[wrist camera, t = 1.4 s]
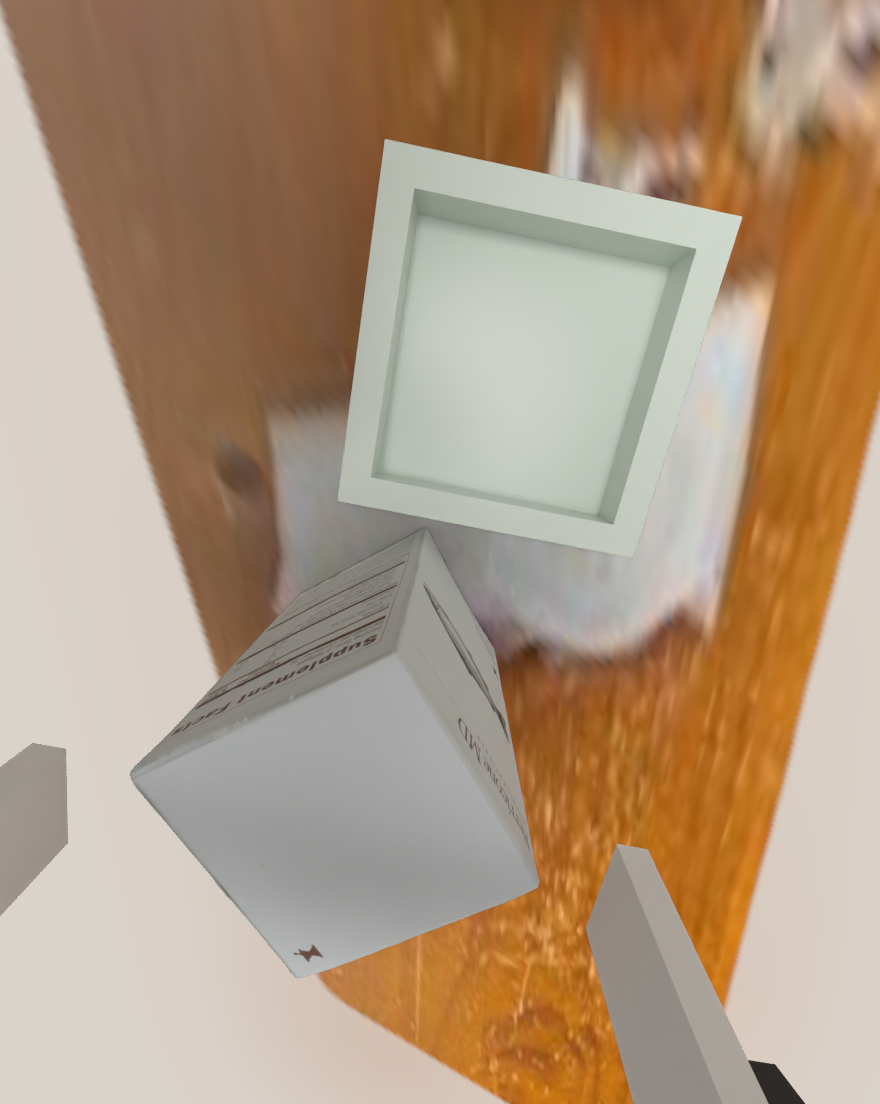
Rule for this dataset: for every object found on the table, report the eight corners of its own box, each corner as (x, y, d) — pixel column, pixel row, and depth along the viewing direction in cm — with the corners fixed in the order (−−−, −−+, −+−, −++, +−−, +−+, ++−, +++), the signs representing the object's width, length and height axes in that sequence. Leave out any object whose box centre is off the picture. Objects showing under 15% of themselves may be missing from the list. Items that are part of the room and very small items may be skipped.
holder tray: (393, 177, 18) (384, 138, 15) (703, 244, 18) (742, 216, 16) (349, 492, 21) (337, 501, 19) (612, 543, 21) (633, 558, 19)
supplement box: (498, 648, 23) (551, 900, 11) (370, 706, 24) (289, 995, 12) (429, 520, 21) (401, 647, 9) (295, 588, 22) (111, 784, 10)
